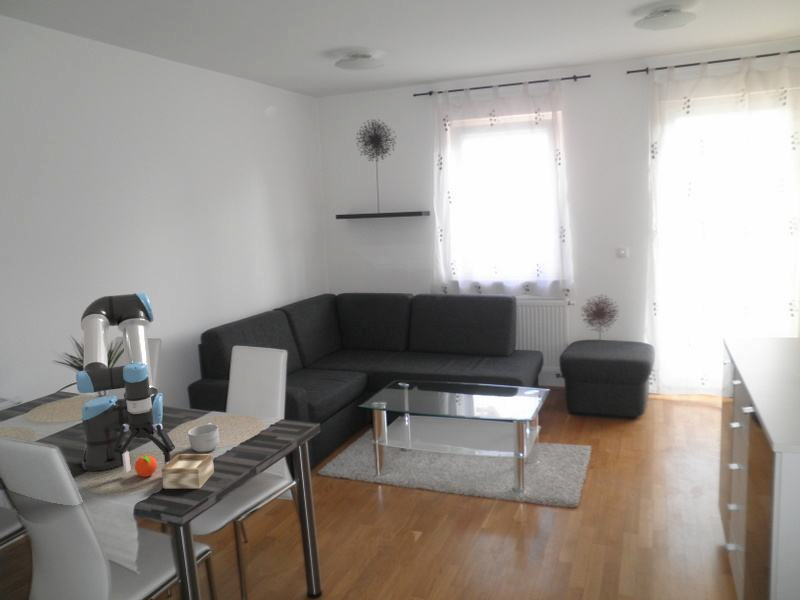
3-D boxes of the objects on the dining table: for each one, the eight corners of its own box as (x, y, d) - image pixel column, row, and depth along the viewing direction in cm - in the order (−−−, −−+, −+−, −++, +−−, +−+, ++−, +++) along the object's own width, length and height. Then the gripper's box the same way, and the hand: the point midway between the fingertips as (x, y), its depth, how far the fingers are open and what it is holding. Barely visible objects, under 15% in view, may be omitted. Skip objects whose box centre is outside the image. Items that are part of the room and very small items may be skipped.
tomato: (162, 476, 211) (160, 456, 210) (142, 483, 206) (139, 462, 205) (152, 469, 217) (150, 449, 215) (132, 476, 212) (130, 456, 211)
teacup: (211, 455, 226) (209, 434, 225) (184, 454, 228) (181, 433, 227) (229, 441, 240) (227, 421, 238) (203, 440, 242) (201, 420, 240)
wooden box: (163, 488, 202) (161, 469, 201) (180, 472, 213) (178, 454, 212) (199, 488, 200) (197, 469, 199) (214, 472, 212) (212, 453, 211)
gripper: (97, 414, 205) (105, 476, 208) (170, 413, 203) (177, 475, 206) (110, 407, 213) (117, 466, 216) (181, 406, 210) (187, 466, 213)
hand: (147, 471), depth 211 cm, fingers open, 13 cm apart
